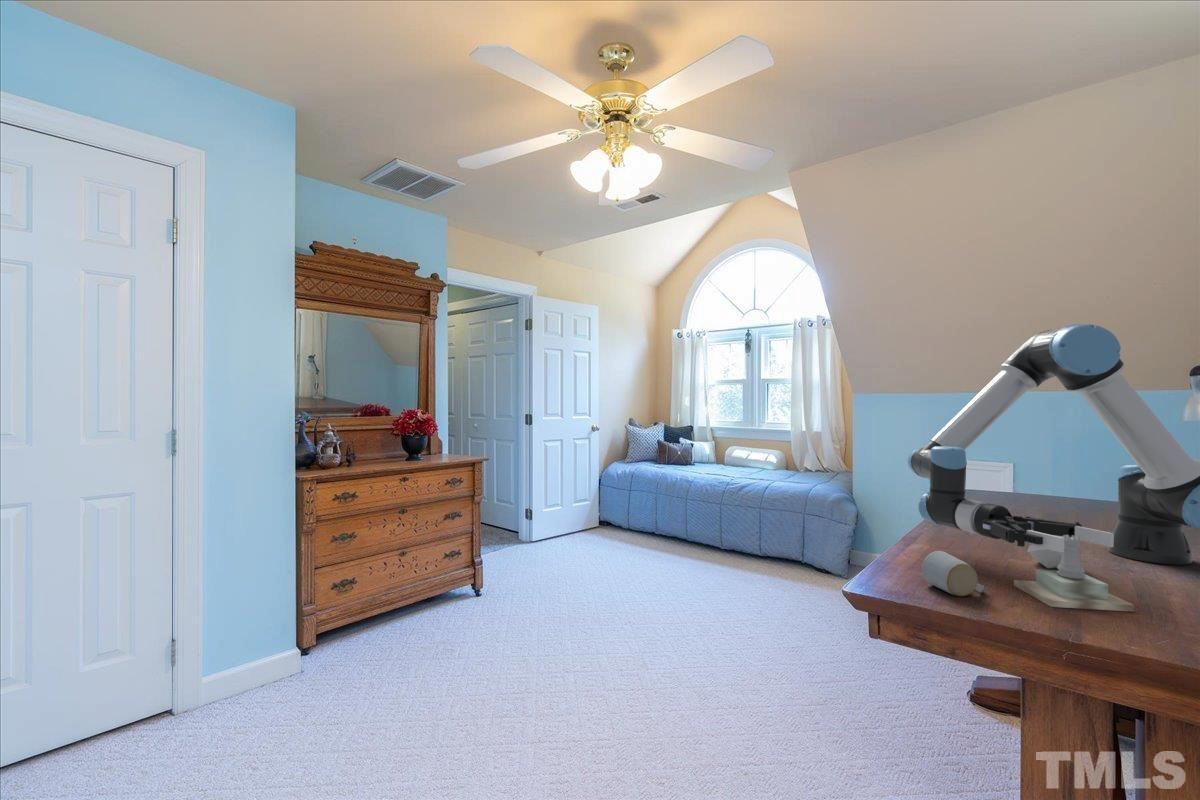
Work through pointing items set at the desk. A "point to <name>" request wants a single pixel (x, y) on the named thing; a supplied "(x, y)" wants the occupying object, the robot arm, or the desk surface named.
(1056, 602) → the plinth
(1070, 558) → the rook chess piece
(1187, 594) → the desk surface
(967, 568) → the ceramic mug
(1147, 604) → the desk surface
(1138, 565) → the desk surface
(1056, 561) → the die
